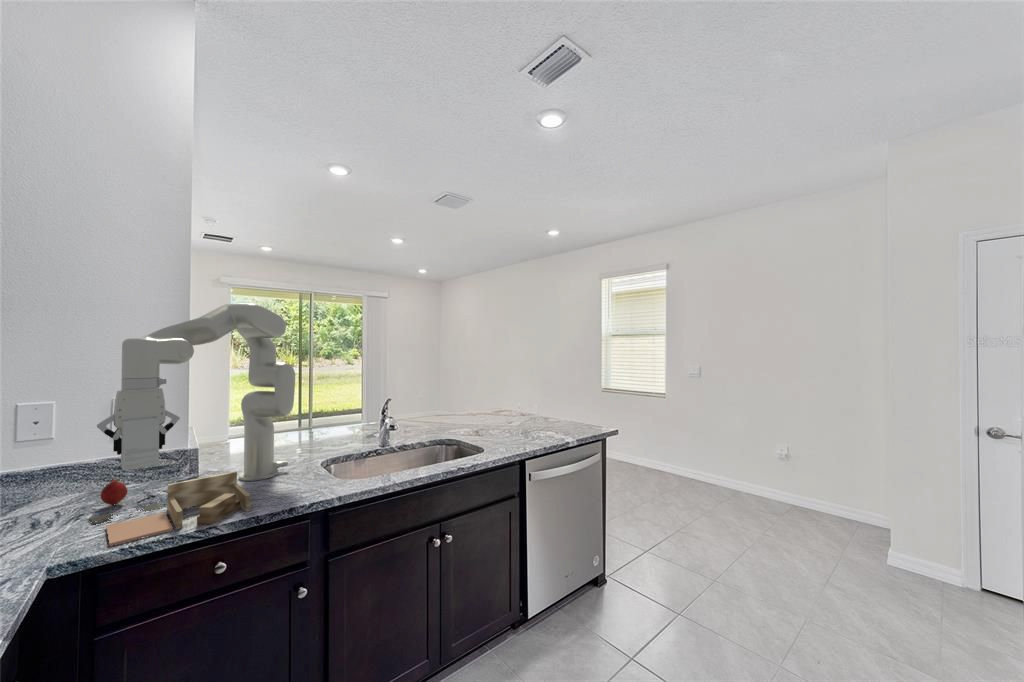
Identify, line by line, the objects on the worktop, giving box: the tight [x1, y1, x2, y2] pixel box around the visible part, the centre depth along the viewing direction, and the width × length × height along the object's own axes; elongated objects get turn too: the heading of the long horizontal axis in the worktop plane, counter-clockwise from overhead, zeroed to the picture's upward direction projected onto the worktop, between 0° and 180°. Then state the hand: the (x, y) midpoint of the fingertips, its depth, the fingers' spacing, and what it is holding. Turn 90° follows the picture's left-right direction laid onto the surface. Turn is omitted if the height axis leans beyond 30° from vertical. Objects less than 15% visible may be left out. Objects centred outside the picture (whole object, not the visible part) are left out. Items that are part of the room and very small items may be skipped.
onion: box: [100, 478, 129, 506], centre depth 125 cm, size 6×6×8 cm
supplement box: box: [120, 417, 160, 471], centre depth 109 cm, size 7×7×13 cm
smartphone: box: [87, 502, 163, 525], centre depth 119 cm, size 7×1×15 cm
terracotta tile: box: [105, 512, 174, 548], centre depth 109 cm, size 12×14×1 cm
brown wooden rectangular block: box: [196, 493, 241, 526], centre depth 118 cm, size 12×4×5 cm, turn 178°
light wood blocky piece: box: [166, 471, 252, 530], centre depth 122 cm, size 17×16×8 cm
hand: (139, 450), depth 109 cm, fingers closed on supplement box, 7 cm apart
